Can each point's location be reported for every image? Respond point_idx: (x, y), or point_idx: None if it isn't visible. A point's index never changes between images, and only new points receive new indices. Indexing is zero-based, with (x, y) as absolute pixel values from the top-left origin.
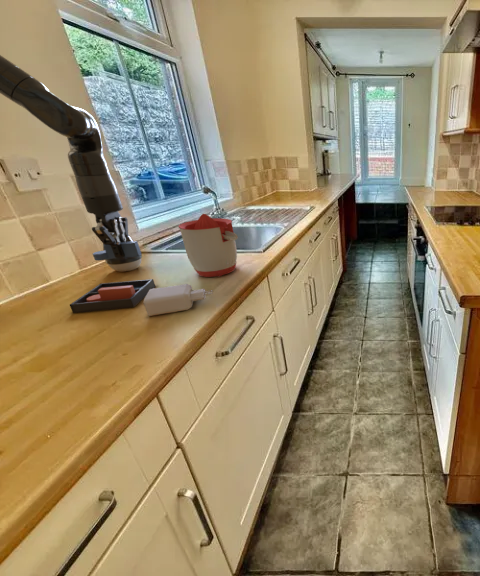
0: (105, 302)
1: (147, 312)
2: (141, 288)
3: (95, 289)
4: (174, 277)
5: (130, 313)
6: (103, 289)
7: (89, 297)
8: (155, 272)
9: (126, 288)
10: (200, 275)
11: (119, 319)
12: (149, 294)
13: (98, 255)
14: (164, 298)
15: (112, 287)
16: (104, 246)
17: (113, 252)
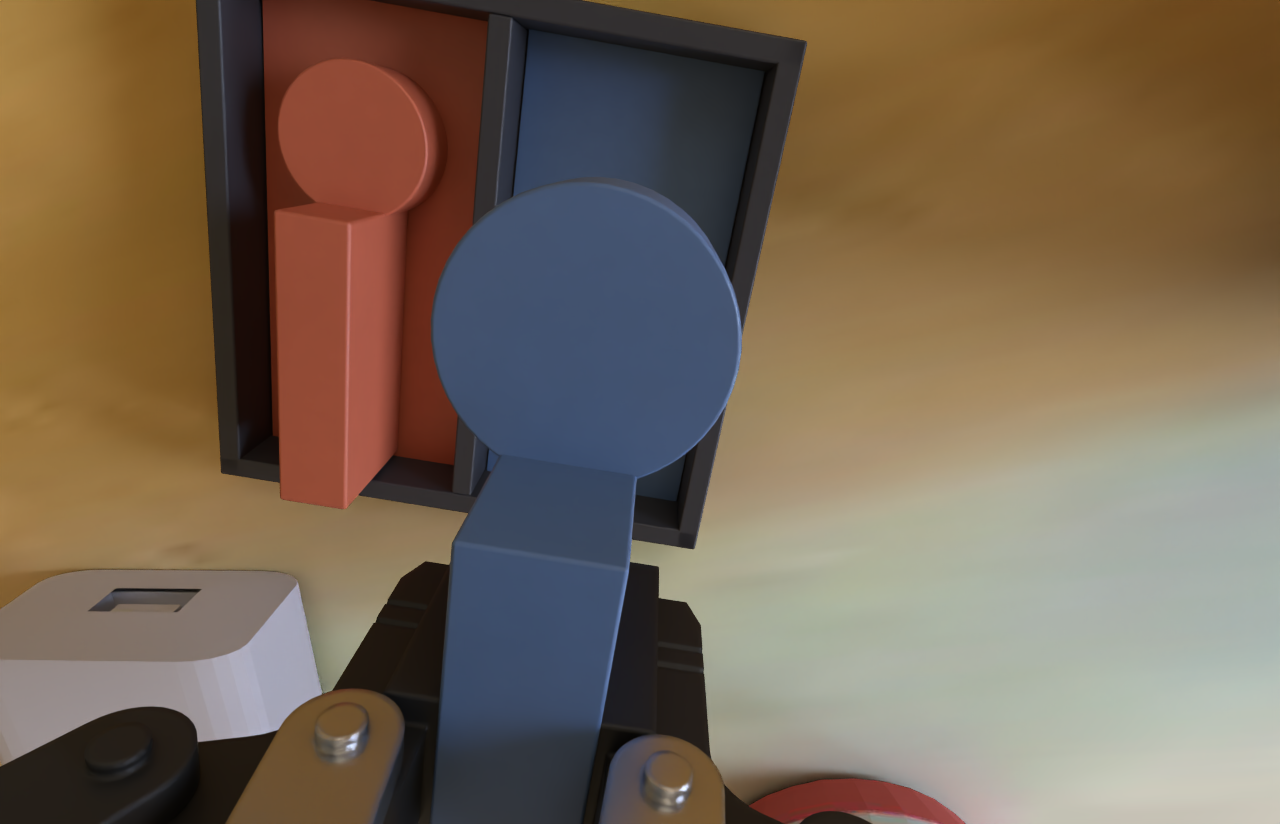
0: (217, 274)
1: (21, 598)
2: (458, 503)
3: (637, 39)
4: (868, 616)
5: (156, 442)
6: (284, 266)
7: (354, 80)
8: (1146, 441)
9: (281, 469)
10: (766, 797)
11: (63, 394)
12: (69, 677)
13: (436, 326)
14: (4, 763)
15: (324, 341)
16: (465, 537)
17: (383, 610)
